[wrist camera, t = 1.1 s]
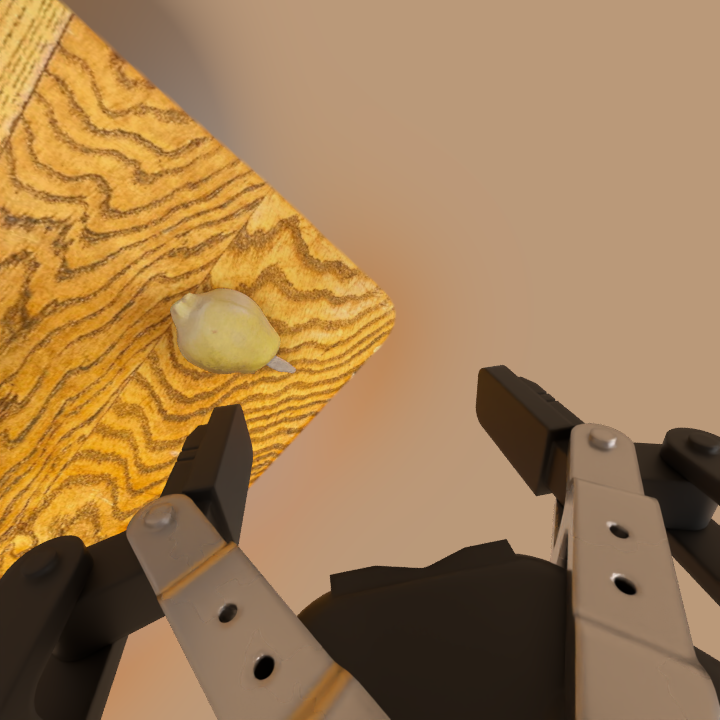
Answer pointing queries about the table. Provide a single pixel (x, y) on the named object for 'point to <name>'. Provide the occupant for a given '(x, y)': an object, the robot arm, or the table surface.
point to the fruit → (226, 333)
